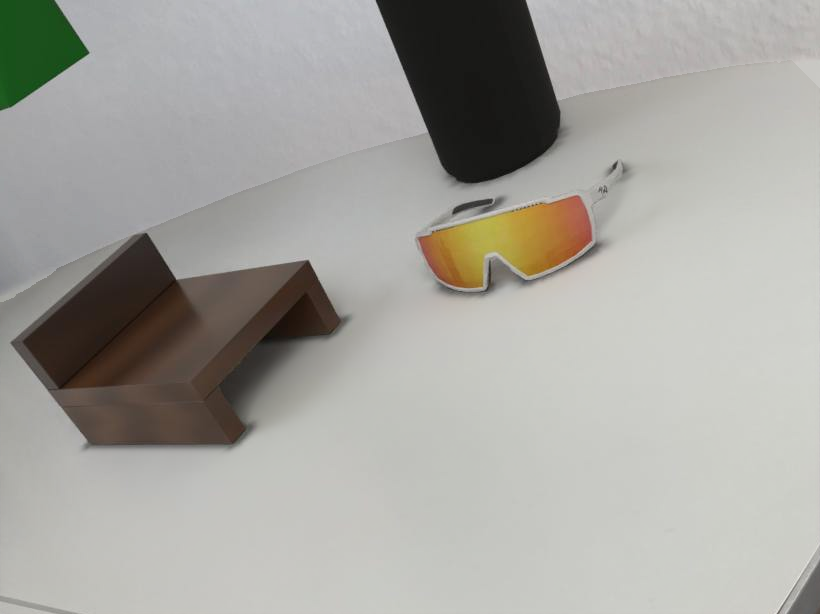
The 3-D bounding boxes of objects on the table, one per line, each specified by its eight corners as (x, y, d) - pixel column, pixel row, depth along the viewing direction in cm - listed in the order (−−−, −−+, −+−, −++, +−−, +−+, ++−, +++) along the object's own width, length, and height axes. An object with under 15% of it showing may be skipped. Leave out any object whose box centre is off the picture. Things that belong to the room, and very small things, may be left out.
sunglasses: (410, 312, 69) (382, 241, 66) (479, 233, 79) (458, 169, 76) (603, 268, 62) (582, 188, 59) (650, 189, 73) (634, 117, 70)
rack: (90, 444, 75) (9, 342, 69) (198, 335, 82) (133, 234, 76) (232, 444, 66) (153, 326, 60) (341, 321, 73) (280, 205, 67)
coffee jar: (510, 121, 89) (430, -112, 77) (591, 121, 81) (516, -138, 69) (424, 184, 86) (327, -47, 74) (499, 190, 78) (404, -66, 66)
